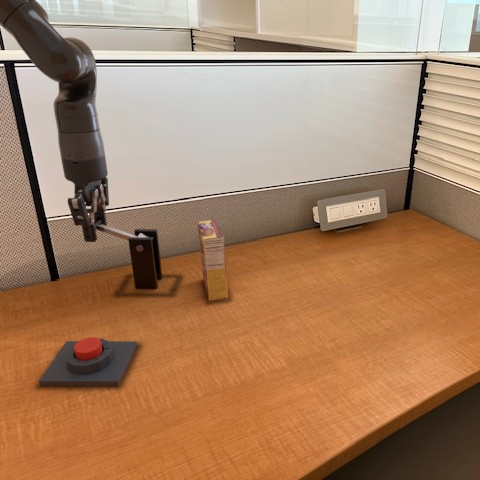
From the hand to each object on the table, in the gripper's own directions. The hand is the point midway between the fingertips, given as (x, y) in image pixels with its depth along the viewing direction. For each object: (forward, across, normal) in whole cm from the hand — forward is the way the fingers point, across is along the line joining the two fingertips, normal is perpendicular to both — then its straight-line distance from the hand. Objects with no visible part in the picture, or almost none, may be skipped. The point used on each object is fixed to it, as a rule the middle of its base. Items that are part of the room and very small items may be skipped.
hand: (96, 234), depth 97 cm
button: (+9, +26, +7) cm, 28 cm away
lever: (+1, 0, +5) cm, 5 cm away
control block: (+12, +26, +7) cm, 29 cm away
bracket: (+12, 0, +9) cm, 16 cm away
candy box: (+12, +2, +24) cm, 27 cm away
